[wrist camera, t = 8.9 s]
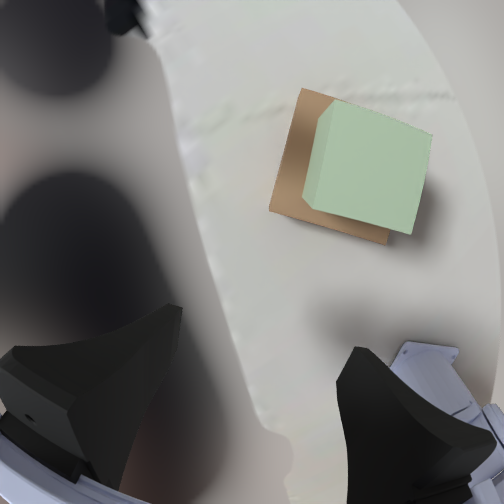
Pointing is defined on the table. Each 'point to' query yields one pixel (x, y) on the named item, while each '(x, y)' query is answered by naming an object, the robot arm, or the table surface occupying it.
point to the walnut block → (295, 172)
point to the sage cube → (367, 167)
